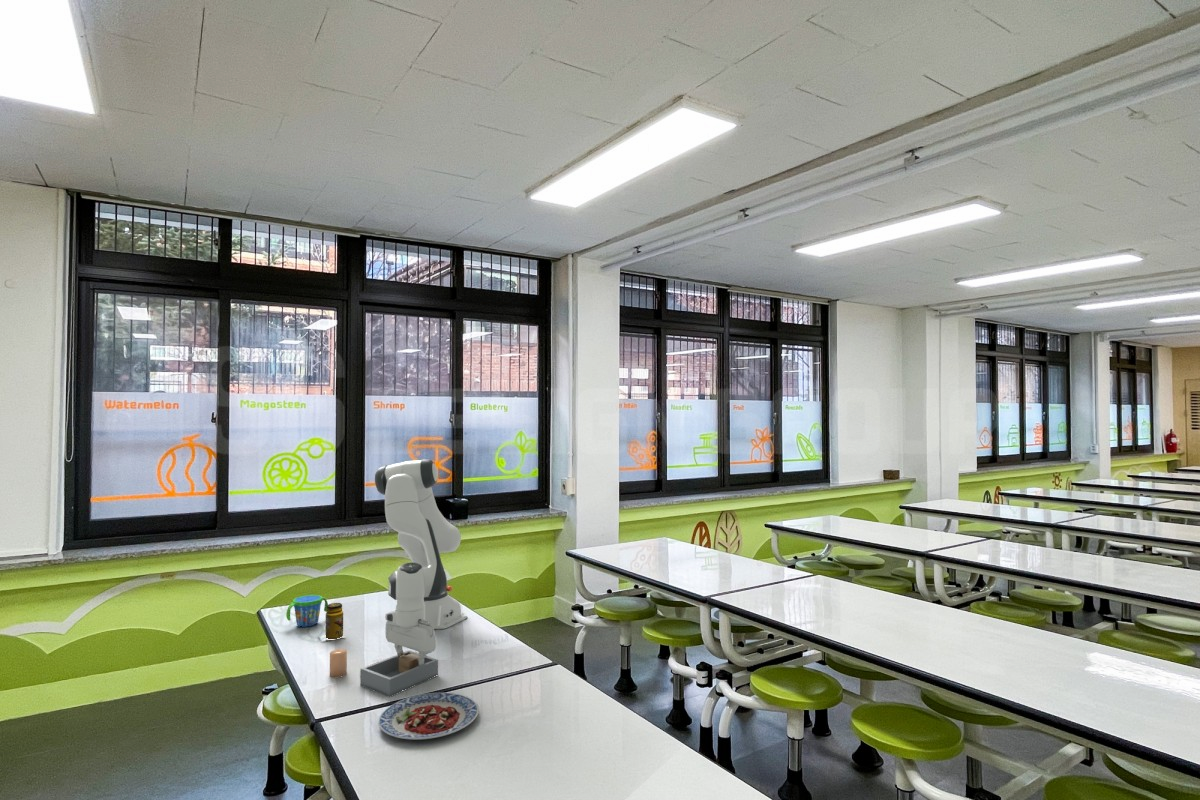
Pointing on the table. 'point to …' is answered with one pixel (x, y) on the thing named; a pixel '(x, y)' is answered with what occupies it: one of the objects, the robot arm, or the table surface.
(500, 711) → the table surface
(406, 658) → the walnut cube
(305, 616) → the snack cup
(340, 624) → the condiment
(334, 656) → the terracotta cylinder
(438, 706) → the ceramic plate
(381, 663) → the tote
